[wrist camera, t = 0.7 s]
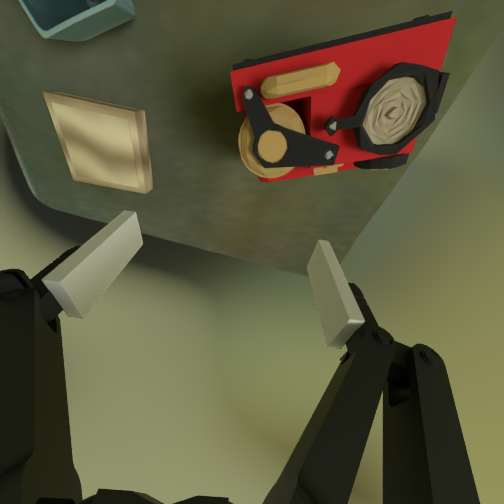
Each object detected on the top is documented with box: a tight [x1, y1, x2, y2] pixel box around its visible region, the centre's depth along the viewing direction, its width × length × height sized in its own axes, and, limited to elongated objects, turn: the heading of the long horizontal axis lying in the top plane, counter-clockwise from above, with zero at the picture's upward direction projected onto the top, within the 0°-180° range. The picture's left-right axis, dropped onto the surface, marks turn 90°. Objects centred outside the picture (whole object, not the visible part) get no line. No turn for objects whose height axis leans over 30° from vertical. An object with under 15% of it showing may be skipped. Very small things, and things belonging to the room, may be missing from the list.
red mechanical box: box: [230, 11, 456, 182], centre depth 22 cm, size 16×10×20 cm, turn 100°
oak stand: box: [42, 91, 154, 194], centre depth 32 cm, size 12×12×3 cm
